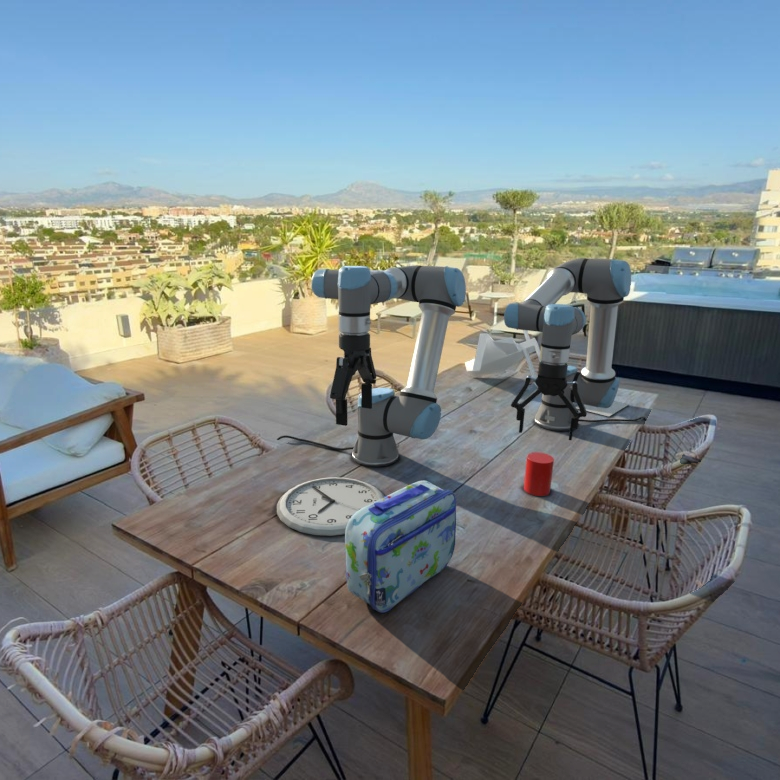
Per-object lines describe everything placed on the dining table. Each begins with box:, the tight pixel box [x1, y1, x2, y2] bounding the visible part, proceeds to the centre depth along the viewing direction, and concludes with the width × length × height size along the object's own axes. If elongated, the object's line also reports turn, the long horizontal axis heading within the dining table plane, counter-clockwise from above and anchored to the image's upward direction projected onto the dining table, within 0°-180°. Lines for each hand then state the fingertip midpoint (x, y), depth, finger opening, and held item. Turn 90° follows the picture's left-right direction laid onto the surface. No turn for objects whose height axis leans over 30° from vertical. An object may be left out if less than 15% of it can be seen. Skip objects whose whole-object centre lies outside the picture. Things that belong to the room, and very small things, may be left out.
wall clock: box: [276, 476, 386, 537], centre depth 142 cm, size 30×2×30 cm
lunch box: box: [344, 480, 457, 614], centre depth 109 cm, size 26×11×21 cm, turn 135°
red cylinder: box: [523, 451, 555, 497], centre depth 152 cm, size 8×8×10 cm
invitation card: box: [575, 400, 629, 418], centre depth 226 cm, size 21×1×15 cm
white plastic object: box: [464, 330, 541, 389], centre depth 260 cm, size 37×45×31 cm
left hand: (354, 415), depth 131 cm, fingers open, 13 cm apart
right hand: (545, 434), depth 148 cm, fingers open, 13 cm apart
